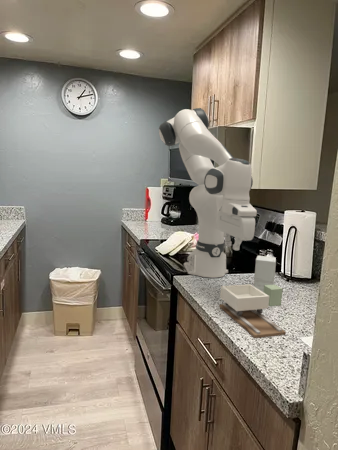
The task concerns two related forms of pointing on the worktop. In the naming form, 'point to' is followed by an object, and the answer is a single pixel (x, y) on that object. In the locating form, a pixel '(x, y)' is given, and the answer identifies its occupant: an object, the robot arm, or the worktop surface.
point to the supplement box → (264, 272)
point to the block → (273, 294)
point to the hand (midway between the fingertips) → (231, 248)
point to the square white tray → (244, 298)
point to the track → (254, 322)
